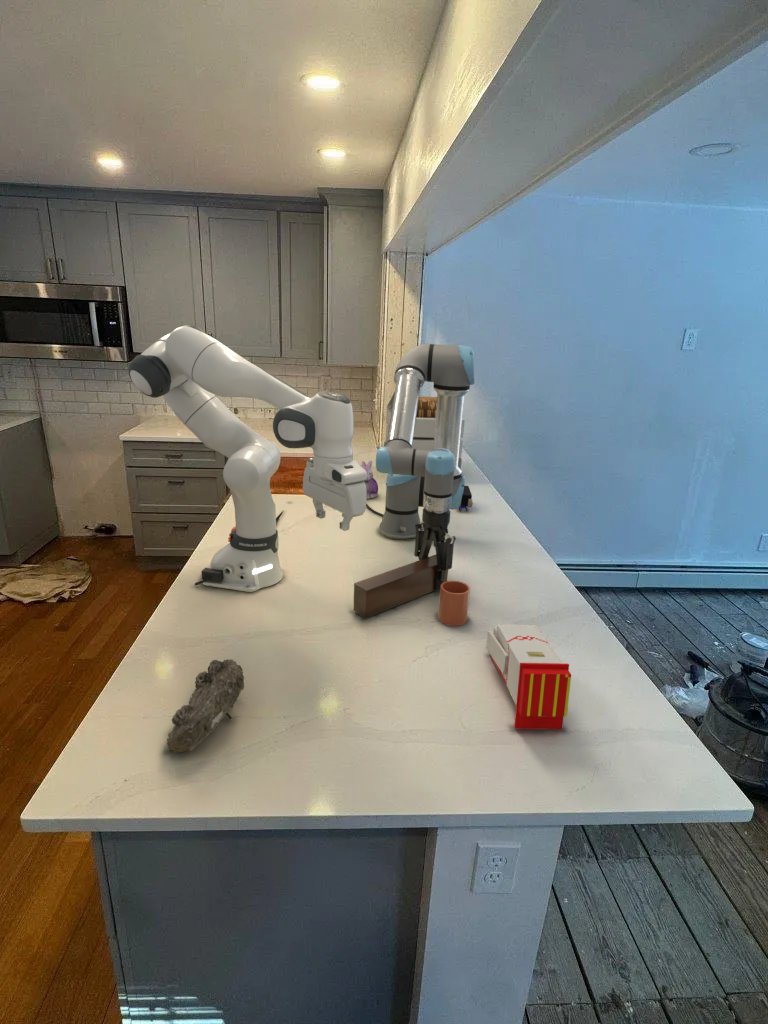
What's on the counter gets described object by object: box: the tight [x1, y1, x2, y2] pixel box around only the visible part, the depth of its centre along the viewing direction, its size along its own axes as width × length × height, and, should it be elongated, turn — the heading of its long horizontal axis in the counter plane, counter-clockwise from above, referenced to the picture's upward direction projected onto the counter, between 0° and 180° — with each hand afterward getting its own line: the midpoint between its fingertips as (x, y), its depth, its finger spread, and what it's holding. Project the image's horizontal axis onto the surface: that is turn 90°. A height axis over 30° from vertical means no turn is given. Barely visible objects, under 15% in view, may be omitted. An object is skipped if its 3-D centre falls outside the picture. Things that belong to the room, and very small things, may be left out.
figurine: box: [361, 460, 379, 500], centre depth 236 cm, size 9×10×15 cm
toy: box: [485, 623, 572, 730], centre depth 120 cm, size 12×13×30 cm
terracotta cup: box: [437, 580, 471, 627], centre depth 145 cm, size 7×7×9 cm
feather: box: [276, 509, 284, 524], centre depth 213 cm, size 2×28×2 cm
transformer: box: [383, 391, 465, 470], centre depth 268 cm, size 34×33×41 cm
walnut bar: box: [353, 554, 449, 619], centre depth 154 cm, size 5×30×8 cm, turn 131°
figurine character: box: [457, 485, 473, 512], centre depth 229 cm, size 7×8×15 cm
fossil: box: [166, 658, 245, 754], centre depth 106 cm, size 22×10×15 cm
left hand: (332, 523), depth 132 cm, fingers open, 8 cm apart
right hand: (430, 585), depth 162 cm, fingers closed on walnut bar, 5 cm apart
